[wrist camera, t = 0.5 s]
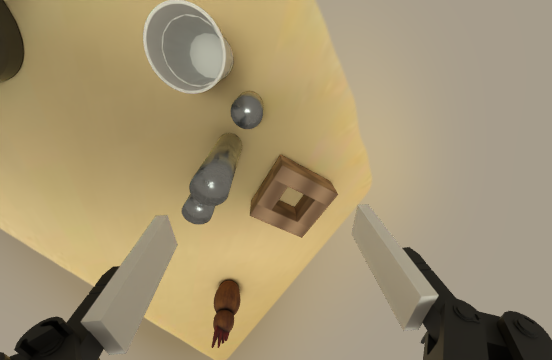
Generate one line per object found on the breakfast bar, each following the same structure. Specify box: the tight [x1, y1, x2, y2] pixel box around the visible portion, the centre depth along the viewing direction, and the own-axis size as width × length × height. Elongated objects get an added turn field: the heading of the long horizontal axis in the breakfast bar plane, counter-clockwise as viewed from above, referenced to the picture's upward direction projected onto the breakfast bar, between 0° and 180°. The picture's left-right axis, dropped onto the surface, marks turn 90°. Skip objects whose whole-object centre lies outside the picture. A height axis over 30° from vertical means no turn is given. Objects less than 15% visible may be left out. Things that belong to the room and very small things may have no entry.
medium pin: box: [182, 194, 216, 224], centre depth 36 cm, size 4×4×11 cm
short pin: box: [231, 91, 263, 129], centre depth 32 cm, size 4×4×7 cm
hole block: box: [250, 155, 338, 238], centre depth 41 cm, size 12×12×5 cm
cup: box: [143, 0, 233, 94], centre depth 26 cm, size 8×8×12 cm
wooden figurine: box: [212, 281, 240, 348], centre depth 50 cm, size 7×6×15 cm
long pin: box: [189, 133, 242, 206], centre depth 31 cm, size 4×4×16 cm
